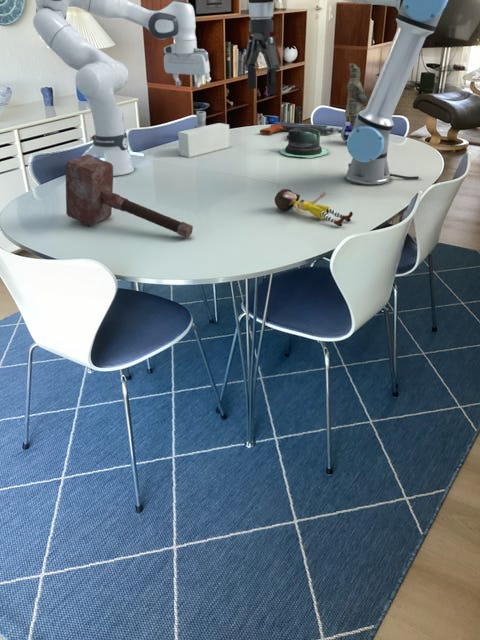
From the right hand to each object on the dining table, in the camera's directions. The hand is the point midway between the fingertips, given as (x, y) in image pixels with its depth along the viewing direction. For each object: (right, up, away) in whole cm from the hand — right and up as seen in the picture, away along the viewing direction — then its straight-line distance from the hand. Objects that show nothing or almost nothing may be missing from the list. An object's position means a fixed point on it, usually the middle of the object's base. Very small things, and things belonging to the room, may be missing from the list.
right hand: (261, 91), depth 184 cm
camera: (-22, +9, +76) cm, 80 cm away
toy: (+44, +2, +63) cm, 77 cm away
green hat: (+20, -5, +52) cm, 56 cm away
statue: (+48, +16, +86) cm, 100 cm away
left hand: (-28, +18, +39) cm, 52 cm away
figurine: (+14, -45, -16) cm, 49 cm away
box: (-22, -2, +57) cm, 62 cm away
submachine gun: (+19, +13, +81) cm, 84 cm away
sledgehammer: (-39, -49, -21) cm, 66 cm away
